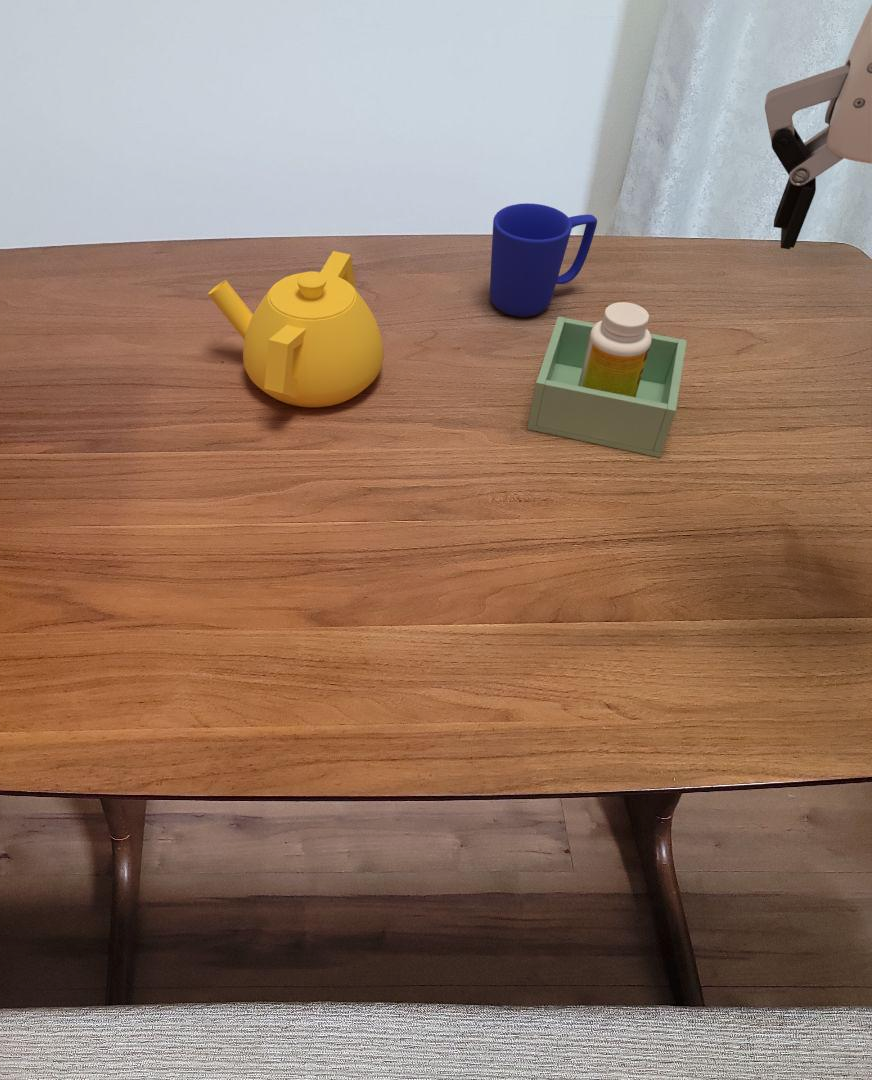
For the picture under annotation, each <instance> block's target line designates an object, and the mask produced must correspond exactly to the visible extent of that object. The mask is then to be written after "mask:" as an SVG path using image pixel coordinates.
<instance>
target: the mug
mask: <svg viewBox="0 0 872 1080" xmlns="http://www.w3.org/2000/svg"><path fill="white" fill-rule="evenodd" d="M582 225H585V228H584V231H583V234H582V238H581V241H580V244H579V248H578V251H577V254H576V256H575V258H574V260H573V262H572V264H571V265H570V268H569V269H568V270H567V271H566V272H565V273H563V274H561V275H560V271H561V268H562V264H563V261H564V258H565V254H566V250H567V247H568V244H569V240H570V238H571V233H572V230H573V228H576V227H579V226H582ZM597 225H598V219H597V217H595V216H594V214H588V213H587V214H579V215H573V216H568V215H567V214H566V213H564V212H563V211H562V210H559V209H557V208H556V207H555V208H554V207H552V206H549V205H545V204H540V203H539V204H538V203H516V204H511V205H507V206H505V207H503V208H501V209H500V210H499V211H497V212H496V213H495V215H494V216H493V220H492V236H491V237H492V238H491V241H492V242H491V255H490V257H491V259H490V274H489V275H490V278H489V279H490V280H489V297H490V300H491V303H492V304H493V306H494V307H495V308H496V309H497V310H499V311H500V312H502V313H504V314H506V315H509V316H514V317H521V318H523V317H524V318H525V317H532V316H536V315H538V314H540V313H541V314H542V312H544V311H545V310H547V308H548V306H549V305H550V303H551V302H552V299H553V296H554V293H555V289H556V286H557V285H566V284H568V283H570V282H571V281H573V280H574V279H575V278H576V277H578V274H579V273H580V272H581V270H582V268H583V267H584V264H585V261H586V259H587V257H588V254H589V251H590V248H591V245H592V242H593V239H594V235H595V233H596V229H597Z"/></svg>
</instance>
